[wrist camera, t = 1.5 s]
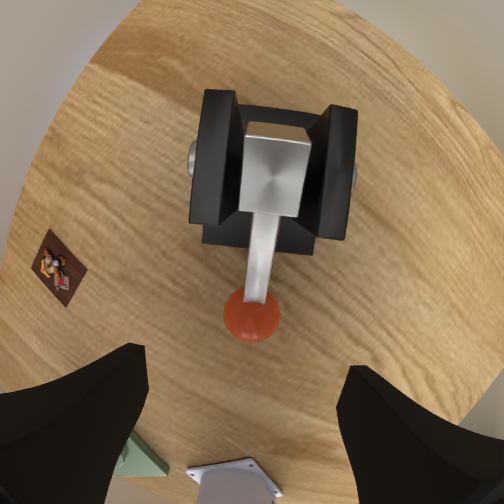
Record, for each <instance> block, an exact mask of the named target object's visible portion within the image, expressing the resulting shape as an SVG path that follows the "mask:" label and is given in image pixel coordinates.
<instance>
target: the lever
mask: <svg viewBox="0 0 504 504" xmlns="http://www.w3.org/2000/svg"><path fill="white" fill-rule="evenodd" d="M312 146H313V145H312V142H311V140H310V138H309V136H308V134H307V133H306V131H305V129H304V128H300V127H294V126H287V125H279V124H271V123H263V122H253V121H250V122H249V123H248V125H247V128H246V130H245V133H244V135H243V143H242V155H241V166H240V178H239V190H238V202H237V209H238V211H245V212H252V221H251V230H250V239H249V248H248V258H247V267H246V276H245V285H244V287H243V288H240V289H238V290H236V291H235V292H234V293H233V294H231V296H230V297H229V298H228V300H227V301H226V303H225V306H224V312H223V317H224V322H225V325H226V327H227V329H228V330H229V332H230V333H231V334H232V335H233V336H234V337H236V338H237V339H239V340H241V341H244V342H259V341H262V340H265V339H267V338H268V337H270V336H271V335H272V334H273V333H274V332H275V330H276V329H277V327H278V325H279V322H280V316H281V313H280V307H279V304H278V302H277V300H276V298H275V297H274V296H273V295H272V294H271V293H270V292H269V291H268V287H269V282H270V276H271V271H272V265H273V260H274V254H275V249H276V243H277V237H278V231H279V226H280V220H281V216H288V217H296V218H297V217H298V216H299V213H300V209H301V204H302V199H303V194H304V188H305V183H306V178H307V173H308V167H309V162H310V157H311V151H312Z"/></svg>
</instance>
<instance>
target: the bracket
mask: <svg viewBox="0 0 504 504" xmlns="http://www.w3.org/2000/svg"><path fill="white" fill-rule="evenodd" d="M250 121H253V122H263V123H271V124H279V125H287V126H294V127H300V128H304V129H305V131H306V133H307V134H308V136H309V138H310V140H311V142H312V145H313V146H312V151H311V157H310V162H309V167H308V173H307V178H306V183H305V188H304V194H303V199H302V204H301V209H300V213H299V216H298V217H297V218H296V217H288V216H281V220H280V226H279V231H278V237H277V243H276V249H275V252H284V253H293V254H301V255H310V256H312V255H313V249H314V243H315V236H316V237H318V238H324V239H332V240H340V241H343V240H344V239H345V235H346V228H347V221H348V214H349V207H350V199H351V194H352V192H353V190H354V187H355V184H356V178H357V168H356V164H355V151H356V138H357V123H358V110H356V109H352V108H347V107H343V106H338V105H333V104H331V105H329V106H328V108H327V109H326V110H325V111H324V112H323V113H322V114H321V115H317V114H312V113H306V112H299V111H293V110H286V109H278V108H270V107H262V106H252V105H240V104H238V102H237V97H236V92H235V91H233V90H215V89H205V91H204V96H203V103H202V109H201V116H200V123H199V130H198V137H197V141H193V142H192V144H191V146H190V149H189V154H188V174H189V176H190V177H191V178H193V179H192V189H191V199H190V210H189V223H190V224H200V225H204V226H203V238H202V243H203V244H212V245H221V246H230V247H239V248H249V239H250V230H251V221H252V212H245V211H238V209H237V202H238V190H239V178H240V166H241V155H242V143H243V135H244V133H245V130H246V128H247V125H248V123H249V122H250Z"/></svg>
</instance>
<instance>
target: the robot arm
mask: <svg viewBox="0 0 504 504" xmlns="http://www.w3.org/2000/svg"><path fill="white" fill-rule="evenodd" d="M148 391H149V385H148V377H147V367H146V357H145V346H143V345H138V344H133V343H127V344H125V345H123V346H121V347H119V348H117V349H116V350H114V351H112V352H110V353H109V354H107V355H105V356H103V357H101V358H100V359H98V360H96V361H94V362H92V363H90V364H89V365H87V366H85V367H83V368H80V369H78V370H76V371H74V372H72V373H70V374H68V375H66V376H64V377H61V378H59V379H56V380H54V381H51V382H48V383H45V384H42V385H39V386H36V387H32V388H28V389H23V390H19V391H15V392H10V393H3V394H0V504H104V503H105V499H106V495H107V491H108V488H109V484H110V481H111V478H112V475H113V472H114V469H115V466H116V463H117V461H118V459H119V456H120V454H121V452H122V450H123V448H124V446H125V444H126V442H127V440H128V438H129V436H130V434H131V432H132V430H133V428H134V426H135V424H136V422H137V420H138V418H139V416H140V414H141V412H142V409H143V406H144V403H145V400H146V397H147V394H148ZM336 410H337V417H338V423H339V428H340V432H341V436H342V439H343V442H344V445H345V448H346V451H347V454H348V458H349V461H350V464H351V467H352V470H353V473H354V477H355V481H356V485H357V491H358V497H359V504H504V440H501V439H496V438H492V437H488V436H484V435H481V434H478V433H475V432H472V431H469V430H467V429H464V428H461V427H459V426H457V425H454V424H452V423H450V422H448V421H446V420H444V419H442V418H440V417H439V416H437V415H435V414H433V413H431V412H430V411H428V410H427V409H425V408H424V407H422V406H420V405H419V404H417V403H416V402H414V401H413V400H412V399H410V398H409V397H407V396H406V395H405V394H403V393H402V392H401V391H399V390H398V389H397V388H395V387H394V386H393V385H392V384H390V383H389V382H388V381H386V380H385V379H384V378H383V377H381V376H380V375H379V374H377V373H376V372H375V371H373V370H372V369H371V368H369V367H368V366H366V365H354V366H350V369H349V372H348V375H347V378H346V381H345V384H344V386H343V389H342V392H341V395H340V398H339V400H338V403H337V406H336ZM186 473H187V474H188V475H189V476H190V477H191V478H193V479H194V480H195V481H196V482H197V483H198V484H199V485H200V487H199V492H198V498H197V504H276V499H275V498H276V497H280V496H282V495H283V492H282V491H281V490H280V489H279V488H278V487H277V486H276V485H275V484H274V482H273V481H272V480H271V479H270V478H269V477H268V476H267V475H266V473H265V472H264V471H263V470H262V469H261V468H260V466H259V465H258V464H257V463H256V462H255V461H254V460H253V459H251V458H247V459H243V460H238V461H232V462H227V463H221V464H215V465H208V466H201V467H193V468H187V469H186Z"/></svg>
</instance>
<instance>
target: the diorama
mask: <svg viewBox="0 0 504 504" xmlns="http://www.w3.org/2000/svg"><path fill="white" fill-rule="evenodd" d="M31 269H32V270H33V271H34V272H35V274H36V275H37V276H38V277H39V278H40V280H41V281H42V282H43V283H44V284H45V285H46V287H47V288H48V289H49V290H50V291H51V292H52V293H53V294H54V296H55V297H56V298H57V299H58V300H59V301H60V302H61V303H62V304H63V305H64V306H65V307H67V305H68V303H69V301H70V299H71V298H72V296H73V294H74V292H75V290H76V289H77V287H78V285H79V283H80V282H81V280H82V278H83V277H84V275H85V273H86V271H87V270H86V269H85V268H84V266H83V265H82V264H81V263H80V262H79V261H78V260H77V259H76V258H75V257H74V256H73V255H72V254H71V253H70V252H69V251H68V249H67V248H66V247H65V246H64V245H63V244H62V243H61V242H60V241H59V239H58V238H57V237H56V236H55V235H54V234H53V232H52V231H51V230H50V229H49V230H48V232H47V234H46V236H45V238H44V240H43V242H42V245H41V247H40V249H39V251H38V253H37V256H36V258H35V260H34V262H33V265H32V267H31Z"/></svg>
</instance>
